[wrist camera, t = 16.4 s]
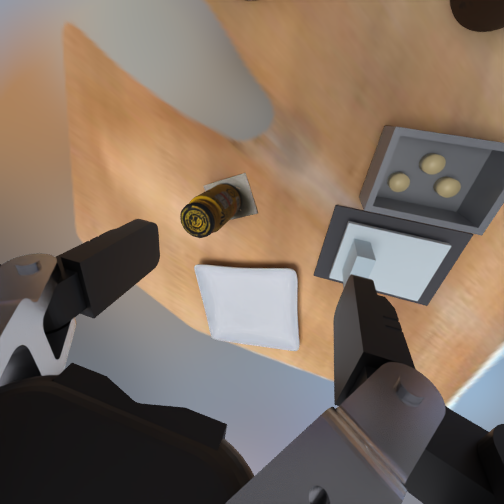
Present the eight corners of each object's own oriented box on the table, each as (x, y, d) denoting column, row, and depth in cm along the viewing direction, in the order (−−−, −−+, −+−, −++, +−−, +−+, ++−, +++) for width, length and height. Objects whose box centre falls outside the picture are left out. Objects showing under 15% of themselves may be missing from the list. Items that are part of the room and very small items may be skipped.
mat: (335, 204, 40) (335, 205, 40) (471, 233, 37) (473, 234, 36) (313, 274, 47) (313, 275, 47) (426, 304, 44) (427, 305, 43)
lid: (329, 271, 45) (328, 298, 38) (348, 218, 40) (351, 238, 33) (413, 293, 43) (429, 326, 36) (445, 239, 38) (471, 266, 31)
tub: (359, 196, 39) (364, 210, 33) (384, 125, 34) (395, 126, 28) (457, 216, 36) (481, 235, 30) (500, 143, 31) (540, 148, 25)
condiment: (203, 185, 45) (166, 204, 35) (245, 172, 42) (218, 189, 32) (218, 222, 48) (187, 249, 38) (258, 212, 45) (236, 239, 34)
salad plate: (301, 341, 56) (299, 353, 53) (216, 330, 63) (211, 340, 60) (299, 260, 47) (296, 269, 44) (199, 256, 53) (192, 264, 50)
